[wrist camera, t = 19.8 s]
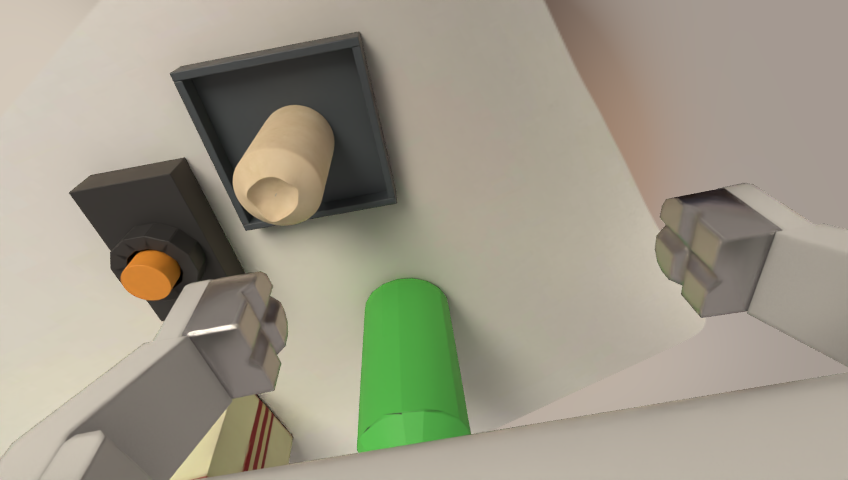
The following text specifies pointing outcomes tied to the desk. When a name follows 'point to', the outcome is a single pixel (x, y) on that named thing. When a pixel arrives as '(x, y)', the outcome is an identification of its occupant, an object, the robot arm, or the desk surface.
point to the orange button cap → (150, 275)
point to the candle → (286, 166)
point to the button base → (158, 222)
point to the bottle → (409, 369)
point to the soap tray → (294, 85)
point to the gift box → (239, 442)
